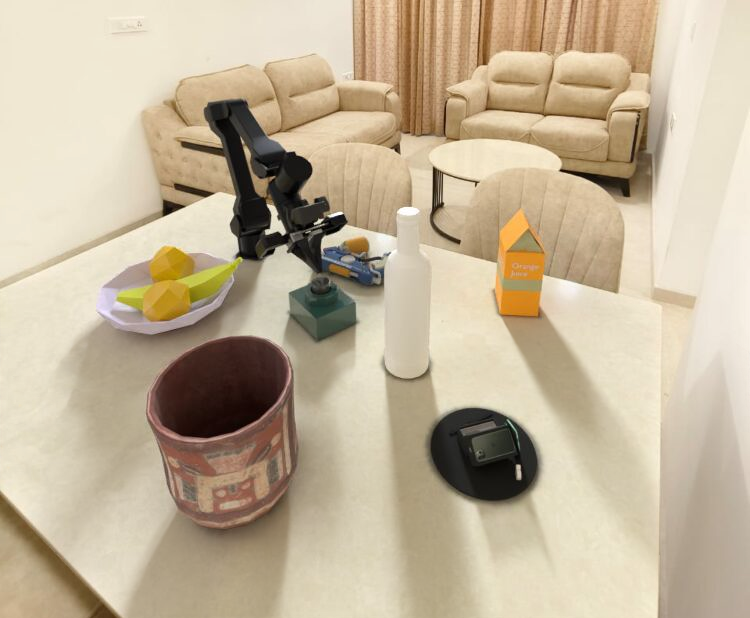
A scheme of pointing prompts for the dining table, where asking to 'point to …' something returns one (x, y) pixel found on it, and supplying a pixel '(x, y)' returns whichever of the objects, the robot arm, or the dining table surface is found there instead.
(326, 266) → the blue toy blaster
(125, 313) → the fruit bowl
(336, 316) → the button housing
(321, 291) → the dark grey button cap
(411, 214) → the bottle
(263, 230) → the robot arm
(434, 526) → the dining table surface
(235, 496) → the pottery
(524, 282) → the orange juice
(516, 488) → the black round electronic device
